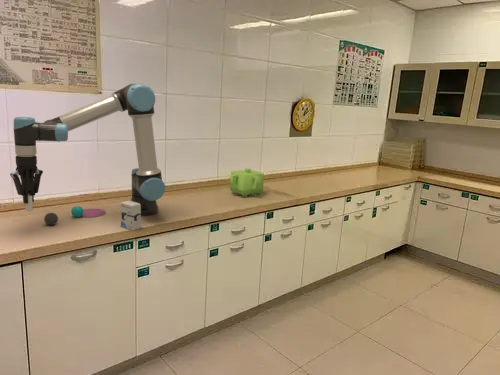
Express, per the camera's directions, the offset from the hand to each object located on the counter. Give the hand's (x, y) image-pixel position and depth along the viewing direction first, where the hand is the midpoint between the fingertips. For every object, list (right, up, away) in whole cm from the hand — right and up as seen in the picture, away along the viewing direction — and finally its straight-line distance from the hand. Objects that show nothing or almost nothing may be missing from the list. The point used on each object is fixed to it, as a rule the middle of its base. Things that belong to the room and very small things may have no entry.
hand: (29, 210), depth 161 cm
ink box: (+39, -9, +14) cm, 42 cm away
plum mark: (+14, -3, +30) cm, 33 cm away
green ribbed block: (+91, +5, +87) cm, 126 cm away
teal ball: (+10, -2, +22) cm, 25 cm away
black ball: (+4, -4, +10) cm, 12 cm away
